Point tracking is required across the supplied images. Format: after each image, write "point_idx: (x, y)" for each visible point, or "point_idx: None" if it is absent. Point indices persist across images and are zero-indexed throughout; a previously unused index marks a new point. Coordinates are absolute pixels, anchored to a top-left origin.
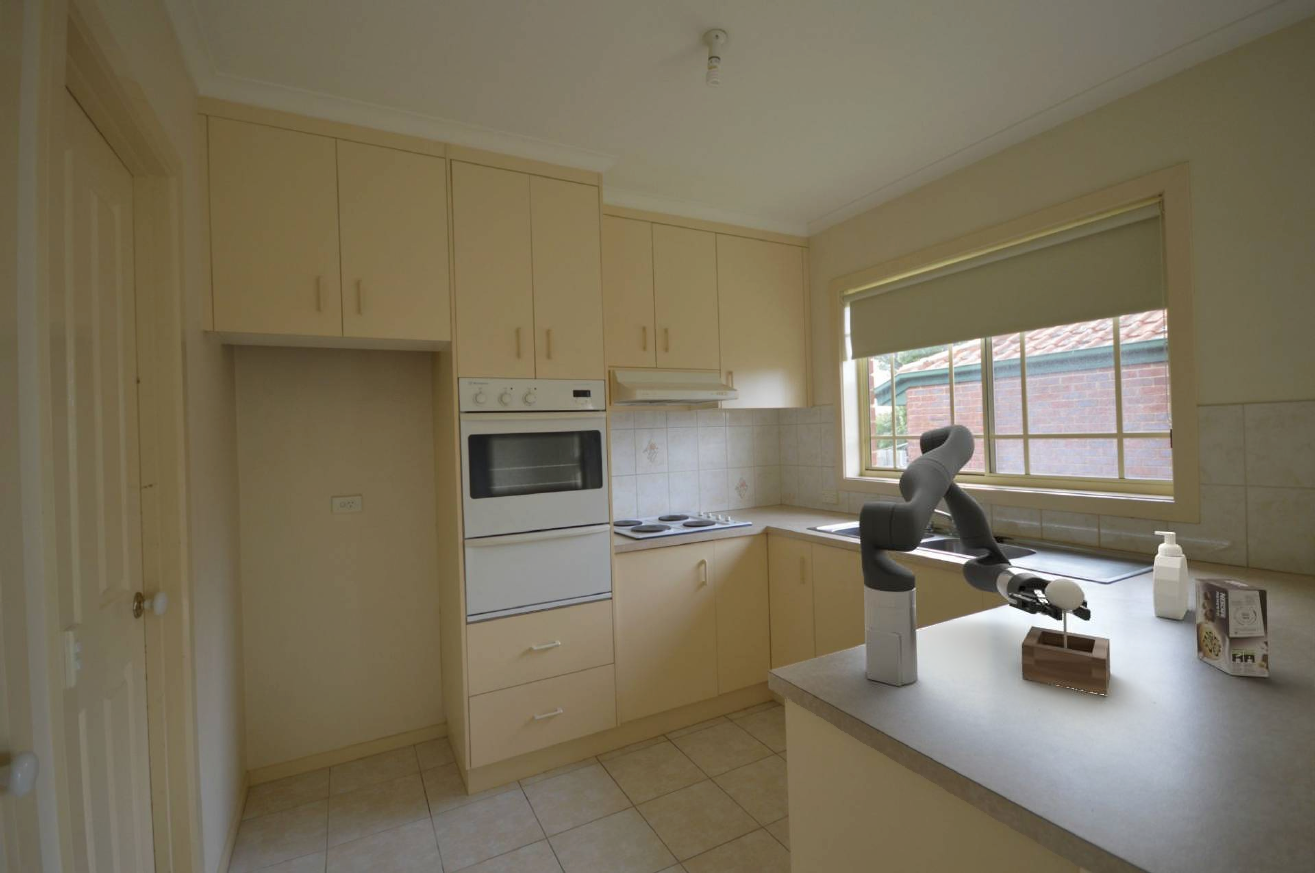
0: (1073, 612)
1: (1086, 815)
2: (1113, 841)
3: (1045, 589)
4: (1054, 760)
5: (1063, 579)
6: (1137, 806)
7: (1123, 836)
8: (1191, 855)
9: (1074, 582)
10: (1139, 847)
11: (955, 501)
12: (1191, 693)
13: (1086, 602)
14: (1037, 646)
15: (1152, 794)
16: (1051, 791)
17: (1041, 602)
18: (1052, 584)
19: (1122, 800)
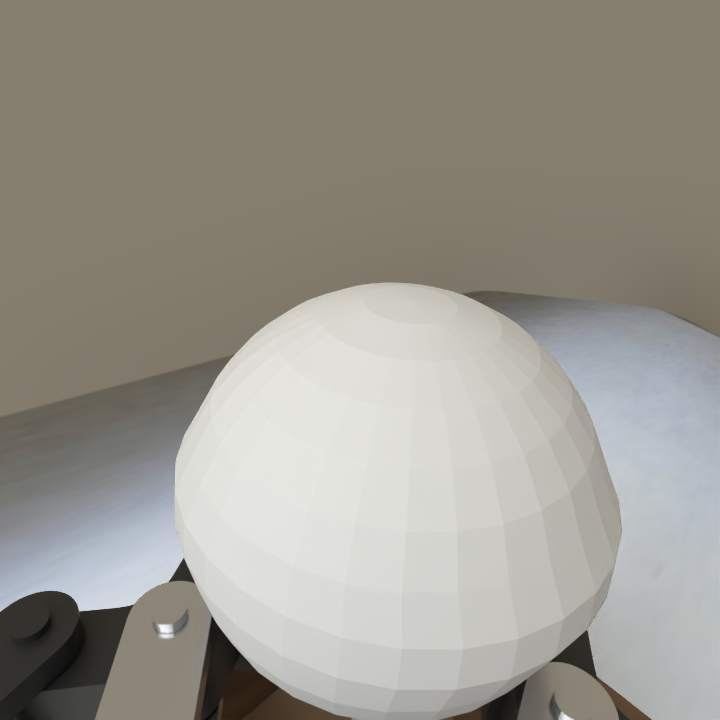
0: (245, 659)
1: (679, 341)
2: (662, 320)
3: (615, 549)
4: (687, 411)
5: (432, 299)
6: (600, 340)
7: (647, 321)
8: (586, 303)
9: (318, 297)
10: (637, 313)
11: None
12: (17, 570)
13: (45, 601)
14: (627, 708)
15: (562, 348)
16: (715, 369)
17: (610, 711)
18: (573, 393)
19: (614, 348)
